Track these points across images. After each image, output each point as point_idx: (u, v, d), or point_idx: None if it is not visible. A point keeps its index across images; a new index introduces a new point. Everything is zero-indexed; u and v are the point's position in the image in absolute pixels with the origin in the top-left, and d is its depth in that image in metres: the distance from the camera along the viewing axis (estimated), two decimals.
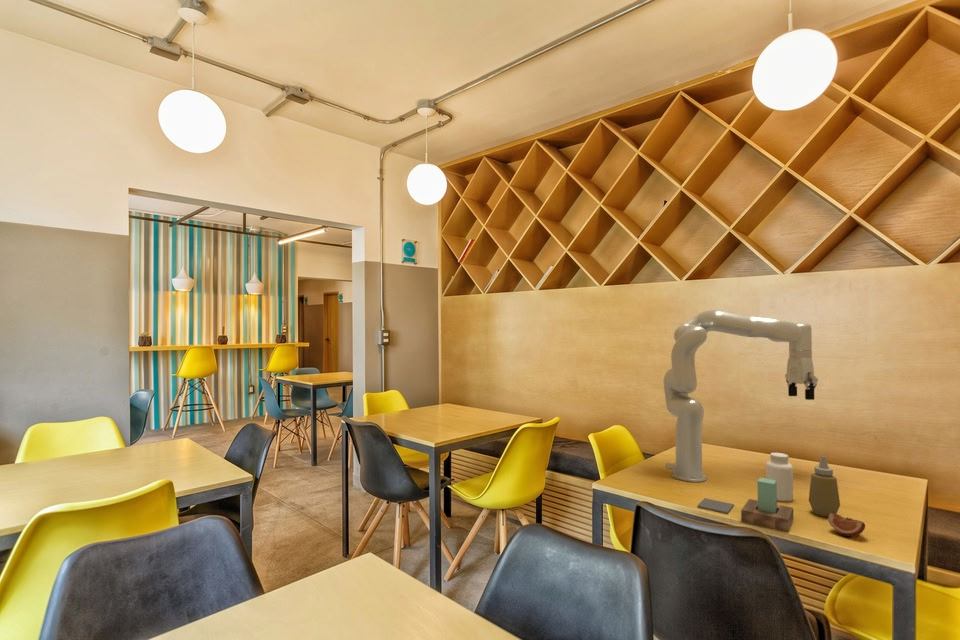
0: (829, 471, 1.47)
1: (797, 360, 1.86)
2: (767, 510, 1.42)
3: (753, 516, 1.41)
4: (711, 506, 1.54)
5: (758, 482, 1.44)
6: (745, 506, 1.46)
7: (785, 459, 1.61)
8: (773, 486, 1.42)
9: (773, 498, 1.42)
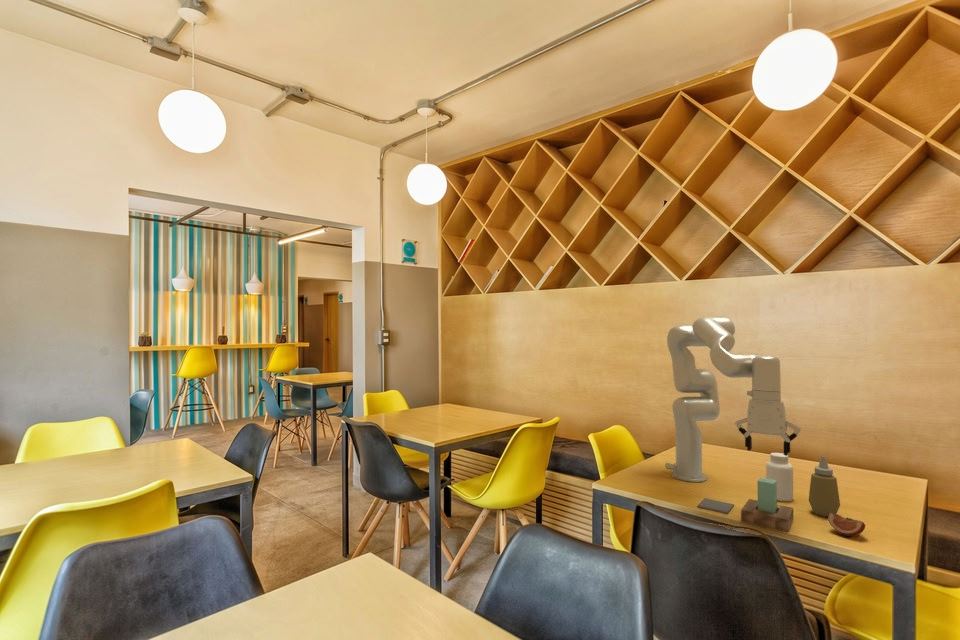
0: (829, 471, 1.47)
1: (773, 404, 1.42)
2: (767, 510, 1.42)
3: (753, 516, 1.41)
4: (711, 506, 1.54)
5: (758, 482, 1.44)
6: (745, 506, 1.46)
7: (785, 459, 1.61)
8: (773, 486, 1.42)
9: (773, 498, 1.42)
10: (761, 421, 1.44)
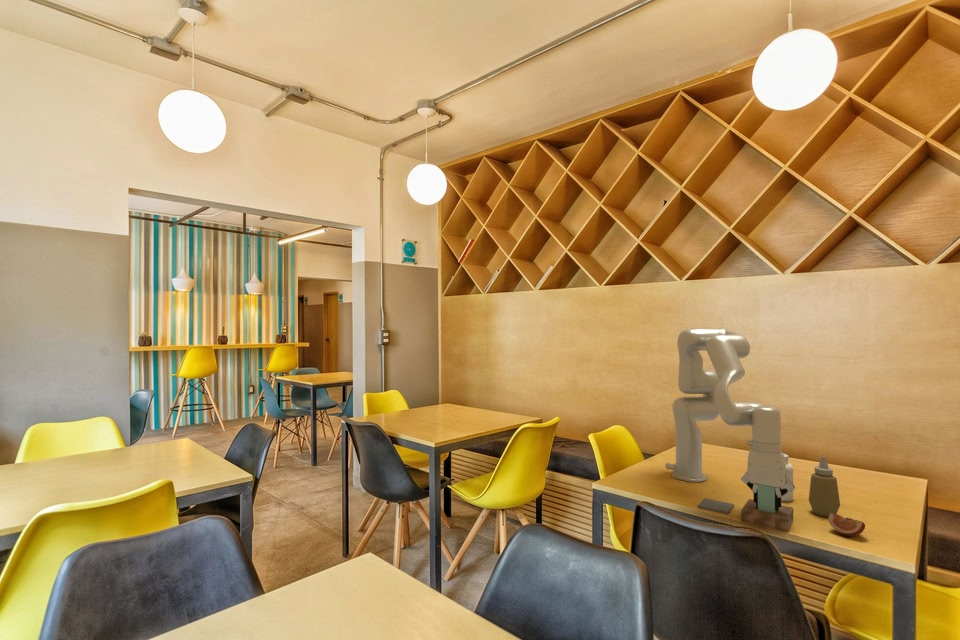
0: (829, 471, 1.47)
1: (773, 456, 1.41)
2: (767, 510, 1.42)
3: (753, 516, 1.41)
4: (711, 506, 1.54)
5: None
6: (745, 506, 1.46)
7: (785, 459, 1.61)
8: None
9: (773, 498, 1.42)
10: (761, 473, 1.43)
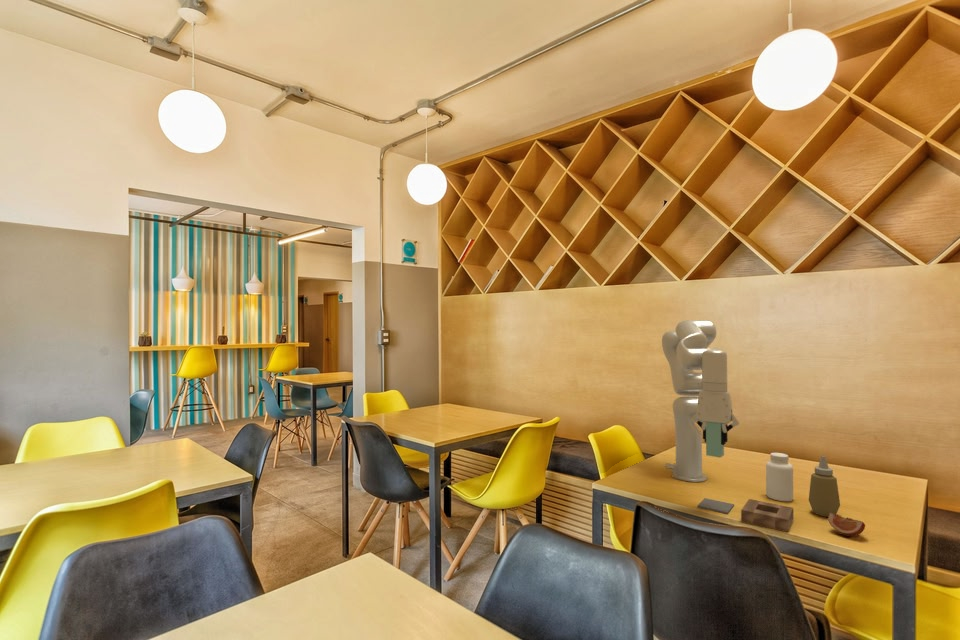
0: (829, 471, 1.47)
1: (719, 395, 1.53)
2: (714, 445, 1.54)
3: (753, 516, 1.41)
4: (711, 506, 1.54)
5: None
6: (745, 506, 1.46)
7: (785, 459, 1.61)
8: None
9: (719, 433, 1.53)
10: (709, 410, 1.55)
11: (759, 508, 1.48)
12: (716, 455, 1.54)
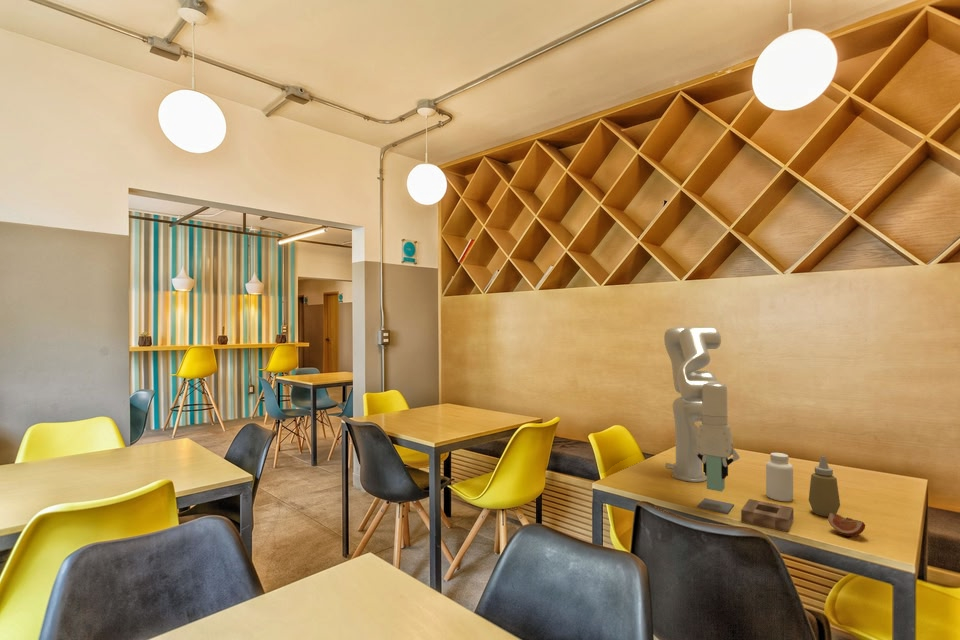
0: (829, 471, 1.47)
1: (720, 429, 1.53)
2: (715, 479, 1.53)
3: (753, 516, 1.41)
4: (711, 506, 1.54)
5: None
6: (745, 506, 1.46)
7: (785, 459, 1.61)
8: None
9: (720, 467, 1.53)
10: (709, 444, 1.54)
11: (759, 508, 1.48)
12: (717, 489, 1.53)
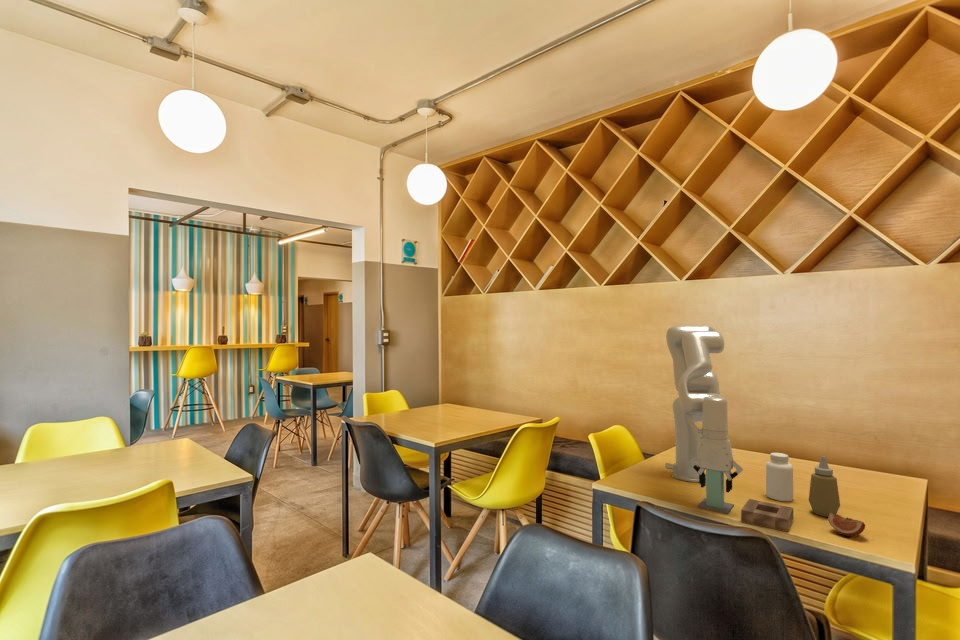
0: (829, 471, 1.47)
1: (720, 443, 1.52)
2: (714, 495, 1.54)
3: (753, 516, 1.41)
4: (711, 506, 1.54)
5: (706, 469, 1.55)
6: (745, 506, 1.46)
7: (785, 459, 1.61)
8: (720, 473, 1.53)
9: (719, 484, 1.53)
10: (709, 458, 1.54)
11: (759, 508, 1.48)
12: (716, 505, 1.53)
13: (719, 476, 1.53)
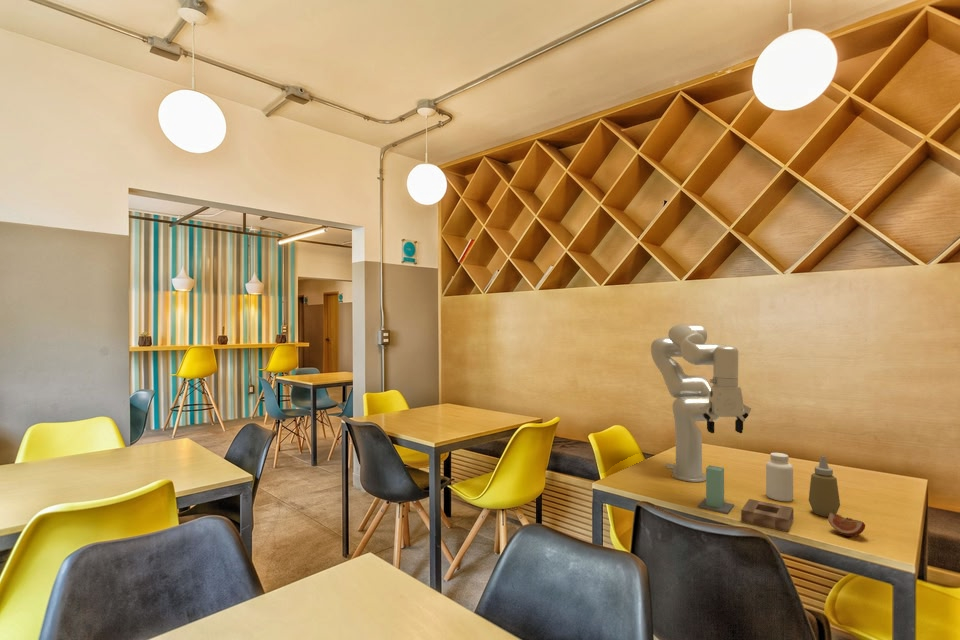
0: (829, 471, 1.47)
1: (736, 389, 1.59)
2: (714, 495, 1.54)
3: (753, 516, 1.41)
4: (711, 506, 1.54)
5: (706, 469, 1.55)
6: (745, 506, 1.46)
7: (785, 459, 1.61)
8: (720, 473, 1.53)
9: (719, 484, 1.53)
10: (726, 405, 1.59)
11: (759, 508, 1.48)
12: (716, 505, 1.53)
13: (719, 476, 1.53)
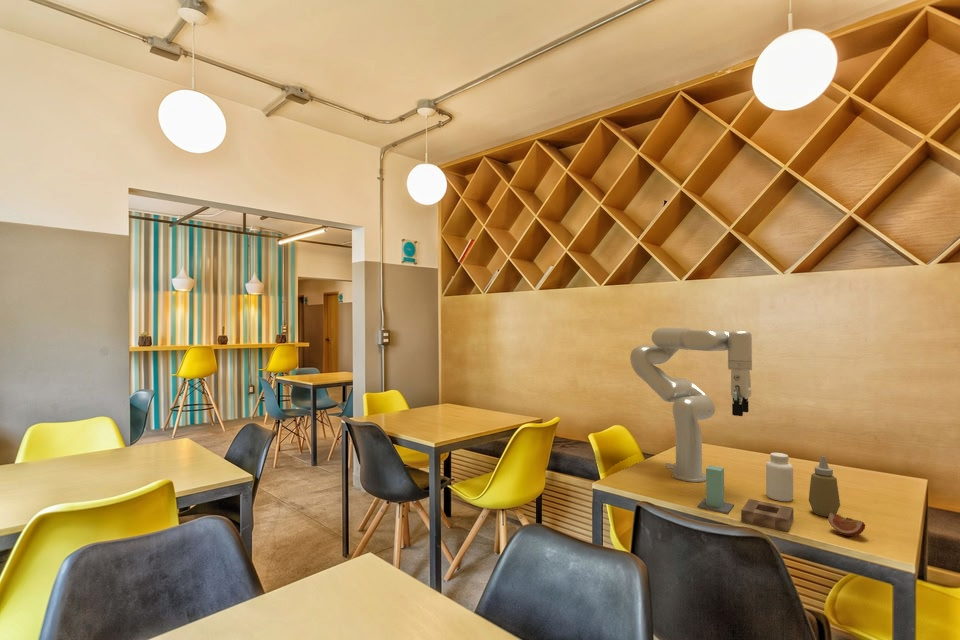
0: (829, 471, 1.47)
1: (749, 371, 1.68)
2: (714, 495, 1.54)
3: (753, 516, 1.41)
4: (711, 506, 1.54)
5: (706, 469, 1.55)
6: (745, 506, 1.46)
7: (785, 459, 1.61)
8: (720, 473, 1.53)
9: (719, 484, 1.53)
10: (748, 387, 1.66)
11: (759, 508, 1.48)
12: (716, 505, 1.53)
13: (719, 476, 1.53)
